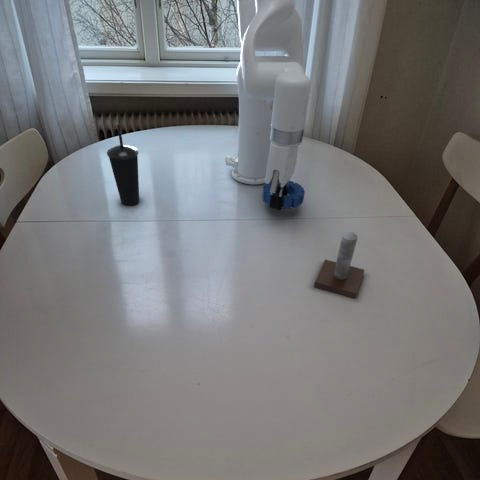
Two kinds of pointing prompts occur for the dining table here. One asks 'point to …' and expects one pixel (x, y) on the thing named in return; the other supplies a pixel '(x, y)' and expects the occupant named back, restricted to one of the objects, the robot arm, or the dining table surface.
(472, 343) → the dining table surface
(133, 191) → the drinking cup
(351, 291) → the peg on square base
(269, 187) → the ring
